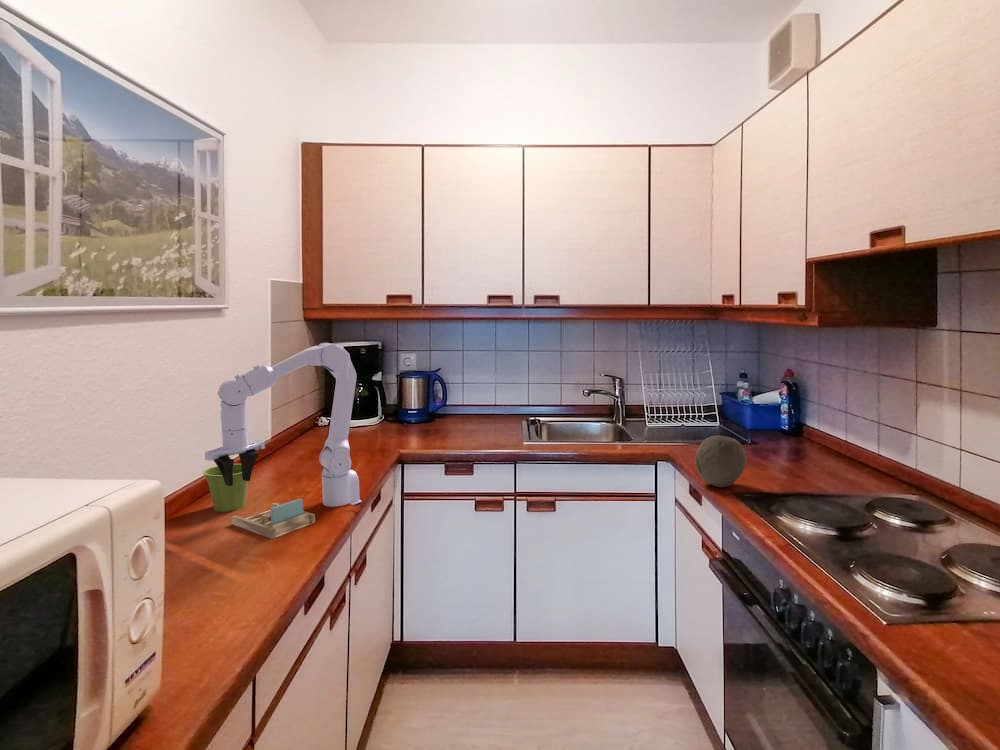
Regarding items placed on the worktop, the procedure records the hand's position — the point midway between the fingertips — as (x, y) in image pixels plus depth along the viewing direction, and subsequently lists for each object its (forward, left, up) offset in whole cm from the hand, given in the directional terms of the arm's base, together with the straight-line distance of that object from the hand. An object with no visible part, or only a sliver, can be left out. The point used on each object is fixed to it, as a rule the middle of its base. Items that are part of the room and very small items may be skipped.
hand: (237, 482), depth 141 cm
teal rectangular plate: (-3, +15, -9) cm, 18 cm away
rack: (-3, +10, -10) cm, 14 cm away
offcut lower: (-3, +10, -9) cm, 14 cm away
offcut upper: (-3, +10, -8) cm, 13 cm away
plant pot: (-4, -11, -11) cm, 16 cm away
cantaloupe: (-96, +93, -11) cm, 134 cm away
